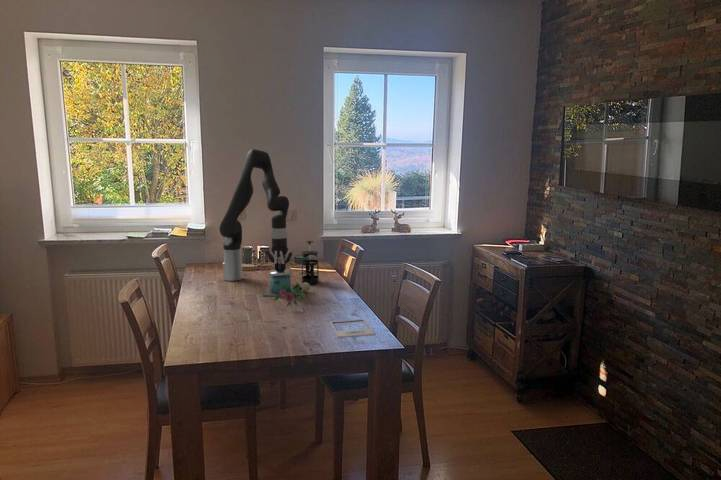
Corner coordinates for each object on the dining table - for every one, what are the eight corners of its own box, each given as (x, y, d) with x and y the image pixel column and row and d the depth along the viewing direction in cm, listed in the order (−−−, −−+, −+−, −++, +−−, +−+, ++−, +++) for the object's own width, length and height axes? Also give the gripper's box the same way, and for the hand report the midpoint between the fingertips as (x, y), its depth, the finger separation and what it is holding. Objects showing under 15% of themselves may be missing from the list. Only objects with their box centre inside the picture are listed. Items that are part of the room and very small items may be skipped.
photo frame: (337, 336, 212) (330, 321, 229) (338, 338, 212) (330, 323, 229) (374, 333, 215) (363, 318, 232) (374, 335, 215) (363, 321, 232)
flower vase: (311, 307, 276) (295, 313, 241) (289, 299, 277) (270, 304, 242) (318, 285, 276) (304, 288, 241) (296, 277, 277) (278, 279, 242)
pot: (262, 296, 268) (262, 278, 267) (272, 288, 282) (271, 272, 280) (289, 297, 266) (289, 280, 264) (298, 290, 279) (297, 273, 278)
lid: (265, 275, 268) (265, 265, 267) (273, 270, 279) (273, 260, 278) (287, 276, 266) (287, 266, 265) (294, 270, 277) (294, 261, 276)
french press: (321, 284, 290) (320, 242, 286) (304, 286, 287) (303, 243, 282) (315, 279, 301) (314, 238, 296) (299, 281, 297) (298, 239, 293)
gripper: (263, 237, 266) (264, 272, 270) (290, 238, 264) (291, 273, 267) (268, 235, 274) (269, 268, 277) (295, 235, 271) (296, 269, 274)
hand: (280, 270), depth 272 cm, fingers closed on lid, 2 cm apart
